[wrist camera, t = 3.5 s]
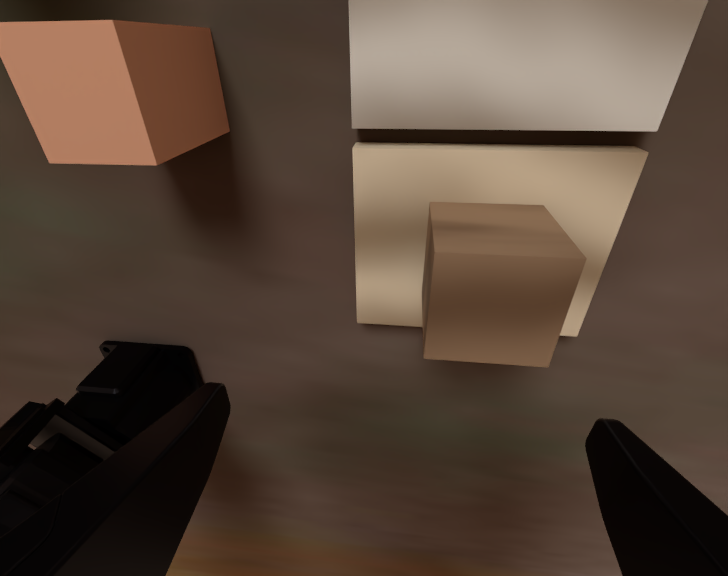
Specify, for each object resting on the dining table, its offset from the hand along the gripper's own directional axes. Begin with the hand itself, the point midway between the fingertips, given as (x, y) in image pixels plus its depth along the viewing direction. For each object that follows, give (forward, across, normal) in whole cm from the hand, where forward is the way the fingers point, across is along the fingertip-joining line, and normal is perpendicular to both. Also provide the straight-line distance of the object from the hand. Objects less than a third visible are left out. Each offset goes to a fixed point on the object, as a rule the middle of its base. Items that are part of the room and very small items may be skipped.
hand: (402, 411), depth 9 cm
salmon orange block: (+12, +11, -6) cm, 17 cm away
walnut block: (+11, -4, +1) cm, 11 cm away
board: (+12, -3, -4) cm, 13 cm away
